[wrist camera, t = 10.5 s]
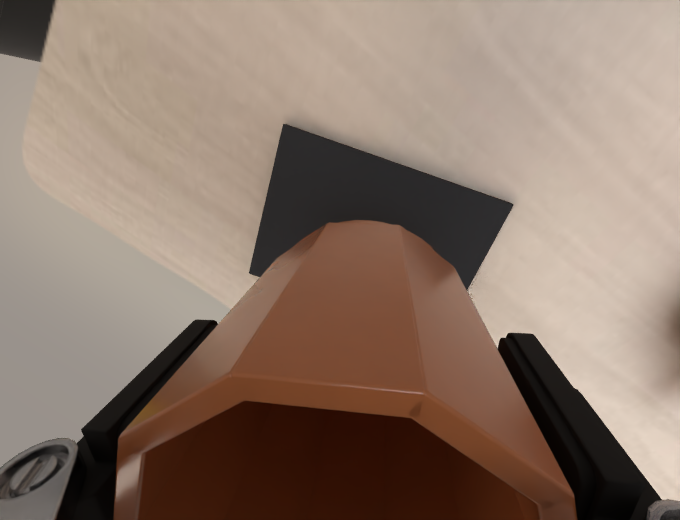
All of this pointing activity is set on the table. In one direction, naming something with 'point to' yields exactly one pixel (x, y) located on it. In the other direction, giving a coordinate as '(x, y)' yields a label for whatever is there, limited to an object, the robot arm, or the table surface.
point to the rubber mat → (370, 202)
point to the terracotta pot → (343, 401)
